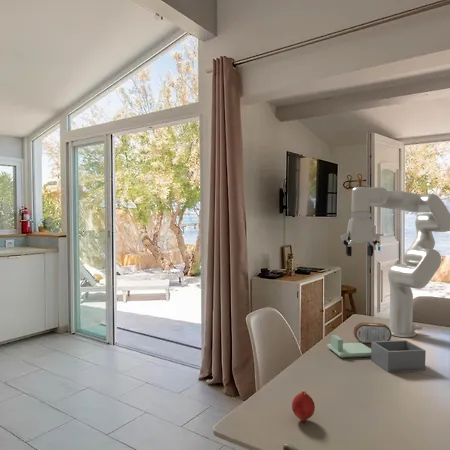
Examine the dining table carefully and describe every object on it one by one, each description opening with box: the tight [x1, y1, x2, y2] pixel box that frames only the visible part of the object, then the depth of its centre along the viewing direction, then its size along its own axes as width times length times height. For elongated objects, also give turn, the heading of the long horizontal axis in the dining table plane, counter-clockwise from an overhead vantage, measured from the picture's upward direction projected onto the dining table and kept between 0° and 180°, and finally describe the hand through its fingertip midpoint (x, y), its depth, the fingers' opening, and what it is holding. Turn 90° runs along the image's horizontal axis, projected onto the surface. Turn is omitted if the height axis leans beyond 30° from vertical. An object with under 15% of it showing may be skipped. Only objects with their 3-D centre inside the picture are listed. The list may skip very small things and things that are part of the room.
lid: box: [326, 334, 371, 359], centre depth 152 cm, size 14×11×7 cm
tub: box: [370, 339, 427, 373], centre depth 140 cm, size 14×11×7 cm
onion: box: [291, 390, 316, 422], centre depth 101 cm, size 6×6×8 cm
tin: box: [353, 322, 392, 345], centre depth 164 cm, size 15×3×8 cm, turn 84°
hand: (359, 255), depth 168 cm, fingers open, 9 cm apart
